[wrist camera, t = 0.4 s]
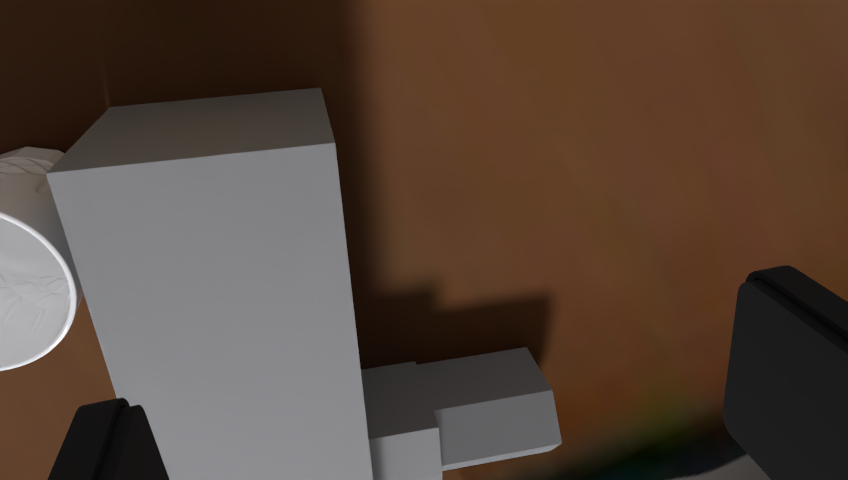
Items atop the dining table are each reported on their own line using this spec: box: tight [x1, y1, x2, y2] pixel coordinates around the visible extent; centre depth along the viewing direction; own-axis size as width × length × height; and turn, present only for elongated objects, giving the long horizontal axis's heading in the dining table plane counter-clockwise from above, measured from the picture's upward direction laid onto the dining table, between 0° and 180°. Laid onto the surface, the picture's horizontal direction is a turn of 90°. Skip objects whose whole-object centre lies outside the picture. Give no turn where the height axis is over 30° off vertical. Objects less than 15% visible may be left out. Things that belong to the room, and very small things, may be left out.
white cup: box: [0, 147, 84, 371], centre depth 32 cm, size 8×8×10 cm
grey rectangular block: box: [46, 88, 562, 480], centre depth 37 cm, size 25×23×11 cm
